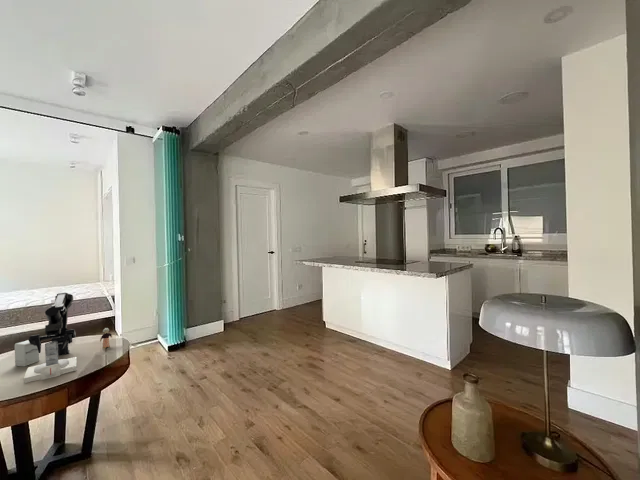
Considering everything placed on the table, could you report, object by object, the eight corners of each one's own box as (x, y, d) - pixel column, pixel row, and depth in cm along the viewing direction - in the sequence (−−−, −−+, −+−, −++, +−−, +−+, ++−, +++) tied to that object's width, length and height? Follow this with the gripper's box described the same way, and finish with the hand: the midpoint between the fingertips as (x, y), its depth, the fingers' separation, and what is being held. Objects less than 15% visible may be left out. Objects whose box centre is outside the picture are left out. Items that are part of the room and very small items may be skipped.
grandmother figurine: (103, 349, 184) (103, 330, 184) (98, 349, 185) (98, 329, 185) (114, 345, 192) (113, 326, 192) (109, 344, 192) (108, 326, 192)
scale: (28, 371, 155) (27, 361, 155) (76, 360, 168) (76, 350, 168) (23, 384, 141) (22, 372, 141) (76, 371, 154) (75, 360, 154)
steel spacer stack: (50, 363, 158) (49, 341, 157) (60, 362, 158) (60, 340, 158) (43, 367, 153) (42, 344, 152) (53, 366, 153) (53, 344, 153)
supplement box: (24, 366, 162) (23, 344, 162) (14, 365, 163) (13, 343, 163) (39, 361, 169) (39, 339, 169) (30, 360, 170) (29, 339, 170)
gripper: (28, 320, 153) (23, 347, 144) (74, 314, 164) (71, 339, 155) (33, 331, 160) (28, 357, 151) (76, 325, 170) (74, 349, 161)
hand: (51, 350), depth 154 cm, fingers open, 9 cm apart
